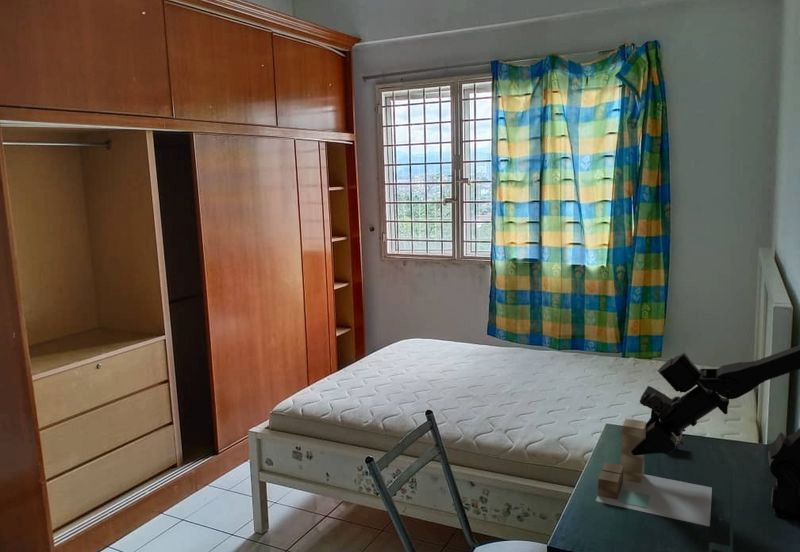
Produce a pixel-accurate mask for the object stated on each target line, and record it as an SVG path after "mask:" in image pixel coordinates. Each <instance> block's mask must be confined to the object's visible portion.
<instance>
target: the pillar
mask: <svg viewBox="0 0 800 552" xmlns="http://www.w3.org/2000/svg"><path fill="white" fill-rule="evenodd" d="M646 423H647V421H643V420H638V419H637V420H636V419H631V418H625V420H624V421H623V424H622V430H621V431H622V433H621V438H622V439H621V453H620V454H621V456H620V465H622V466H624V469H623V480H627V481H632V482H637V483H641V482H642V479H643V475H644V474H645V471H644V470H645V456H646V454H644V455H633V454H632V453H631V451H632V450H633V449H634V448H635V447H636V446H637V445H638V444H639V443H640V442H641V441H642V440H643V439H644V438H645V437H646Z"/></svg>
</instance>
